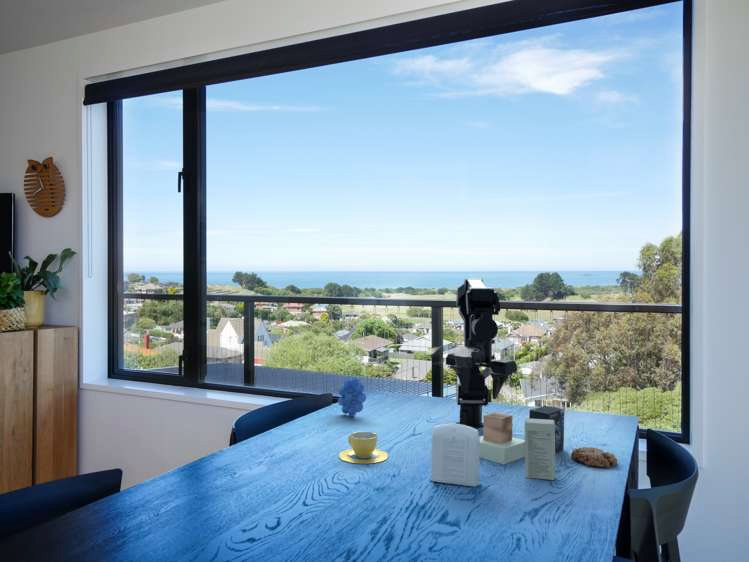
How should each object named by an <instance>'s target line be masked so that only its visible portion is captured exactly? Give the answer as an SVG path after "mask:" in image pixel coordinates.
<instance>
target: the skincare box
mask: <svg viewBox="0 0 749 562" xmlns="http://www.w3.org/2000/svg"><path fill="white" fill-rule="evenodd" d="M524 440H525V457H524V464H525V466H524V468H525V469H524V470H525V472H524V473H525V476H524V477H525V478H529V479H539V480H549V481H550V480H551V481H554V480H555V479H556V453H555V422H554V420H547V419H530V418H528V417H527V418H526V419H525V421H524Z"/></svg>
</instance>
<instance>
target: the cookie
mask: <svg viewBox="0 0 749 562" xmlns="http://www.w3.org/2000/svg"><path fill="white" fill-rule="evenodd" d="M570 457H571V459H573V461H576V462H581V463H583V464H584V465H586V466H589V467H590V466H593V467H599V468H608V469H611V468H614V467H616V466H617V465H618V459H617V457H616V456H615V454H614V453H612V452H611V453H610V452H606V451H605V452H604V450H603V449H601V448H597V447H593V446H592V447H590V446H583V447H578V448H575V449H573V451H572V452H571V454H570ZM613 466H614V467H613Z"/></svg>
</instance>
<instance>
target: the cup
mask: <svg viewBox="0 0 749 562" xmlns="http://www.w3.org/2000/svg"><path fill="white" fill-rule="evenodd" d="M347 440H348V444H349V445H350V446H351V447H352V448H350V449H346V450H342V451H341V452H340V453H338V455H337V456H338V458H339V459H340V460H342V461H345V462H347V463H352V464H358V465H359V464H362V465H363V464H365V465H366V464H367V465H368V464H375V463H376V464H377V463H381V462H383V461H386V460H387V459H389V454H388V453H386V452H385V451H384V450H380V449H378V448H377V449H376V447H377V443H378V434H377V433H375V432H371V431H355V432H352V433H351V434H350V435H349V436H348V439H347ZM354 454H355V456H356V457H357V458H358V459H355V458H352V456H353V455H354ZM373 455H375V457H374V458H372V456H373ZM369 458H372V459H369Z"/></svg>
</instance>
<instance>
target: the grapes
mask: <svg viewBox="0 0 749 562" xmlns="http://www.w3.org/2000/svg"><path fill="white" fill-rule="evenodd" d="M364 390H365V385H364V384H363V383H361V382H360V381H359V379H358V378H357V377H353V378H351V379H349V378H346V379H345V380H344V382H343V386H340V387H339V389H338V394H339V395H340V397H339V398H338V399H337V403H338V405H339V406H342V407H341V412H342V413H343V414H346V415H347V414H348V415H349V417H355V416H356V415H357V414H358V413H361V412H362V411H363V409H364V404H363V403H365V402H366V401H367V395H366V394H365V393H364Z"/></svg>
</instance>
